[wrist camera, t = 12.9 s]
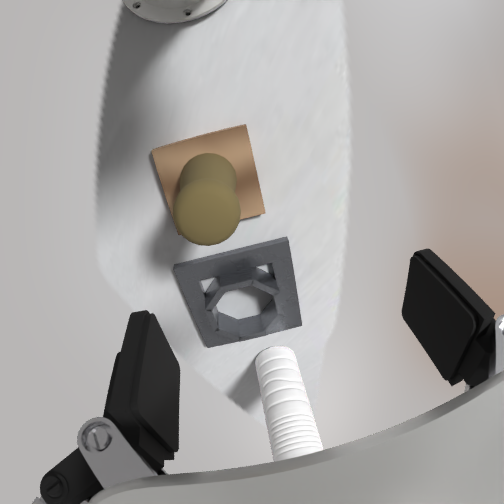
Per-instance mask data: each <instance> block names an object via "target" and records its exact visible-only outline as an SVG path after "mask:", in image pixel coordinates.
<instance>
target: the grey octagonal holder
mask: <svg viewBox="0 0 504 504" xmlns="http://www.w3.org/2000/svg"><path fill="white" fill-rule="evenodd" d="M268 263H272V267H273V271H274V276H273V275H271V274H269V273H267V272H265V271H263V270H261V269H259V268H257V267H256V266H260V265H264V264H268ZM174 271H175V274H176V276H177V279H178V281H179V284H180V286H181V288H182V291H183V293H184V296H185V298H186V300H187V303H188V305H189V307H190V310H191V312H192V314H193V317H194V319H195V321H196V323H197V326H198V328H199V330H200V332H201V335H202V337H203V339H204V341H205V343H206V345H207V348H210V347H215V346H220V345H224V344H229V343H233V342H238V341H239V342H240V341H245V340H249V339H253V338H257V337H261V336H266V335H268V334H272V333H276V332H280V331H283V330H287V329H291V328H295V327H299V326H302V321H301V314H300V308H299V301H298V295H297V289H296V282H295V276H294V270H293V264H292V258H291V252H290V246H289V240H288V238H287V237H283V238H279V239H275V240H271V241H267V242H263V243H259V244H255V245H251V246H247V247H243V248H239V249H235V250H231V251H227V252H223V253H219V254H215V255H211V256H207V257H203V258H199V259H195V260H191V261H187V262H183V263H179V264H175V265H174ZM215 276H216V277H215ZM211 277H215V279H214V280H213V282H212V283H211V285H210V286H209V288H208V289H207V291H206V292H204V289H203V286H202V284H201V281H200V280H203V279H207V278H211ZM248 286H254V287H256V288H258V289H260V290H262V291H264V292H267V293H269V294H271V295H272V296H273V299H272V300H271V302H270V303H269V304H268V305H267V307H266V308H265V309H264V310H263V311H262V313H261V314H260V315H256V316H252V317H248V318H243V319H239V320H237V319H235V318H232V317H230V316H228V315H225V314H223V313H220V312H218V310H217V307H216V304H217V303H218V301H219V300H220V299H221V297H222V296H223V294H224V293H225V292H227V291H232V290H236V289H240V288H244V287H248Z"/></svg>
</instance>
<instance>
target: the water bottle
mask: <svg viewBox="0 0 504 504" xmlns="http://www.w3.org/2000/svg"><path fill="white" fill-rule="evenodd" d="M255 365H256V371H257V374H258V381H259V385H260V393H261V396H262V403H263V409H264V413H265V420H266V425H267V429H268V434H269V439H270V444H271V449H272V455H273V460H274V462H275V461H280V460H285V459H290V458H294V457H298V456H303V455H307V454H311V453H314V452H318V451H322V450H323V446H322V444H321V440H320V436H319V434H318V430H317V426H316V423H315V420H314V416H313V412H312V409H311V406H310V403H309V399H308V396H307V394H306V389H305V386H304V384H303V379H302V377H301V374H300V370H299V367H298V363H297V360H296V357H295V354H294V352H293V351H292V350H291V349H289V348H288V347H285V346H280V347H279V346H273V347H269V348H268V349H265V350H263V351H262V352H260V353H259V355H258V356H257V357H256V360H255Z"/></svg>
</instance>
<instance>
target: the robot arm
mask: <svg viewBox="0 0 504 504" xmlns="http://www.w3.org/2000/svg"><path fill="white" fill-rule="evenodd" d="M225 1H226V0H123V2H124V3H125V5H126V6H127V7H128V8H129V9H130V10H131V11H132V12H133V13H135V14H136V15H137V16H139V17H141V18H143V19H146V20H148V21H153V22H157V23H169V24H170V23H182V22H186V21H191V20H194V19H197V18H200V17H203V16H205V15H207V14H209V13H211V12H212V11H214V10H216V9H217V8H218V7H220V6H221V5H222V4H224V3H225ZM137 6H140V7H139V8H138V9H136V8H137ZM187 13H191V14H190V15H189V16H186V14H187ZM494 315H495V313H494V312H493V311H492V309H491V308H490V307H489V306H488V305H487V304H486V303H485V302H484V301H483V300H482V299H481V298H480V297H479V296H478V295H477V294H476V293H475V292H474V291H473V290H472V289H471V288H470V287H469V286H468V285H467V284H466V283H465V282H464V281H463V280H462V279H461V278H460V277H459V276H458V275H457V274H456V273H455V272H454V271H453V270H452V269H451V268H450V267H449V266H448V265H447V264H446V263H445V262H443V261H442V260H441V259H440V258H439V257H438V256H437V255H436V254H435V253H434V252H432V251H431V250H430V249H424V250H420V251H417V252H415V253H414V255H413V257H411V259H410V266H409V273H408V279H407V286H406V291H405V297H404V302H403V307H402V316H403V319H404V320H405V322H406V323H407V324H408V326H409V327H410V329H411V330H412V332H413V333H414V335H415V336H416V338H417V339H418V341H419V342H420V343H421V345H422V346H423V348H424V349H425V351H426V352H427V354H428V355H429V357H430V358H431V360H432V361H433V363H434V364H435V366H436V367H437V369H438V371H439V372H440V374H441V375H442V377H443V378H444V379H445V380H448V381H449V383H450V384H451V386H453V385H455V384H457V383H459V382H461V381H462V380H463V379H464V381H465V382H466V386H465V393H463V394H461V395H459V396H458V397H456V398H454V399H452V400H450V401H449V402H446V403H444V404H442V405H440V406H438V407H436V408H434V409H432V410H430V411H428V412H426V413H424V414H421V415H419V416H417V417H415V418H413V419H410V420H408V421H406V422H403V423H401V424H399V425H396V426H394V427H391V428H388V429H386V430H384V431H381V432H378V433H375V434H373V435H370V436H367V437H364V438H361V439H358V440H355V441H353V442H349V443H346V444H343V445H339V446H336V447H333V448H329V449H326V450H322V451H318V452H314V453H311V454H307V455H303V456H298V457H294V458H290V459H285V460H280V461H275V462H270V463H264V464H259V465H253V466H246V467H239V468H232V469H224V470H217V471H206V472H196V473H183V474H182V473H181V474H170V475H168V474H167V473H166V472H165V470H164V469H163V467H164V460H174V452H177V451H178V449H179V391H180V367H179V363H178V361H177V359H176V357H175V355H174V353H173V351H172V349H171V347H170V345H169V343H168V341H167V339H166V337H165V335H164V333H163V331H162V329H161V327H160V325H159V323H158V321H157V319H156V316H155V315H154V314H153V313H152V314H150V313H149V312H148V311H147V310H145V311H139V312H133V313H131V315H130V318H129V322H128V325H127V329H126V333H125V337H124V341H123V345H122V349H121V352H119V353H118V354H117V356H116V359H115V363H114V367H113V372H112V376H111V380H110V385H109V390H108V394H107V399H106V404H105V409H104V415H103V417H97V418H92V419H90V420H88V421H87V422H86V423H85V424H83V426H82V427H81V428H80V430H79V432H78V436H77V443H78V446H79V447H78V448H77V449H76V450H75V451H73V452H72V453H71V454H70V455H69V456H67V457H66V458H65V459H64V460H62V461H61V462H60V463H59V464H57V465H56V466H55V467H54V468H52V469H51V470H50V471H49V472H47V473H46V474H45V475H44V477H43V478H42V481H41V484H40V493H41V498H38V497H36V499H35V500H34V502H33V503H32V504H504V315H501V316H500V317H498V318H497V320H496V321H495V319H494Z"/></svg>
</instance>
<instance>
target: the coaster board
mask: <svg viewBox="0 0 504 504" xmlns="http://www.w3.org/2000/svg"><path fill="white" fill-rule="evenodd" d="M151 152H152V155H153V158H154V162H155V165H156V168H157V171H158V175H159V178H160V181H161V184H162V187H163V190H164V193H165V197H166V200H167V203H168V206H169V209H170V212H171V215H172V218H173V205H174V203H175V200H176V198H177V195H178V193H179V192H180V174H181V171H182V169H183V167H184V165H185V164H186V163H187V162H188V161H189V160H190V159H192V158H193V157H195V156H197V155H199V154H204V153H214V154H218V155H220V156H222V157H224V158H226V159H227V160H228V161H229V162H230V163H231V164H232V166H233V168H234V169H235V172H236V177H237V183H236V189H235V194H236V196H237V197H238V199H239V203H240V208H241V216H240V219H244V218H249V217H253V216H257V215H261V214H265V209H264V204H263V199H262V194H261V190H260V185H259V181H258V176H257V171H256V167H255V162H254V158H253V153H252V149H251V144H250V140H249V135H248V131H247V126H246V125H245V124H244V125H240V126H235V127H231V128H227V129H223V130H219V131H215V132H211V133H207V134H203V135H199V136H196V137H192V138H189V139H185V140H182V141H178V142H175V143H171V144H168V145H165V146H162V147H158V148H155V149H153V150H151ZM173 220H174V218H173ZM174 223H175V222H174ZM175 226H176V225H175ZM176 229H177V228H176ZM177 232H178V235H181V234H180V232H179V231H178V229H177Z"/></svg>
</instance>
